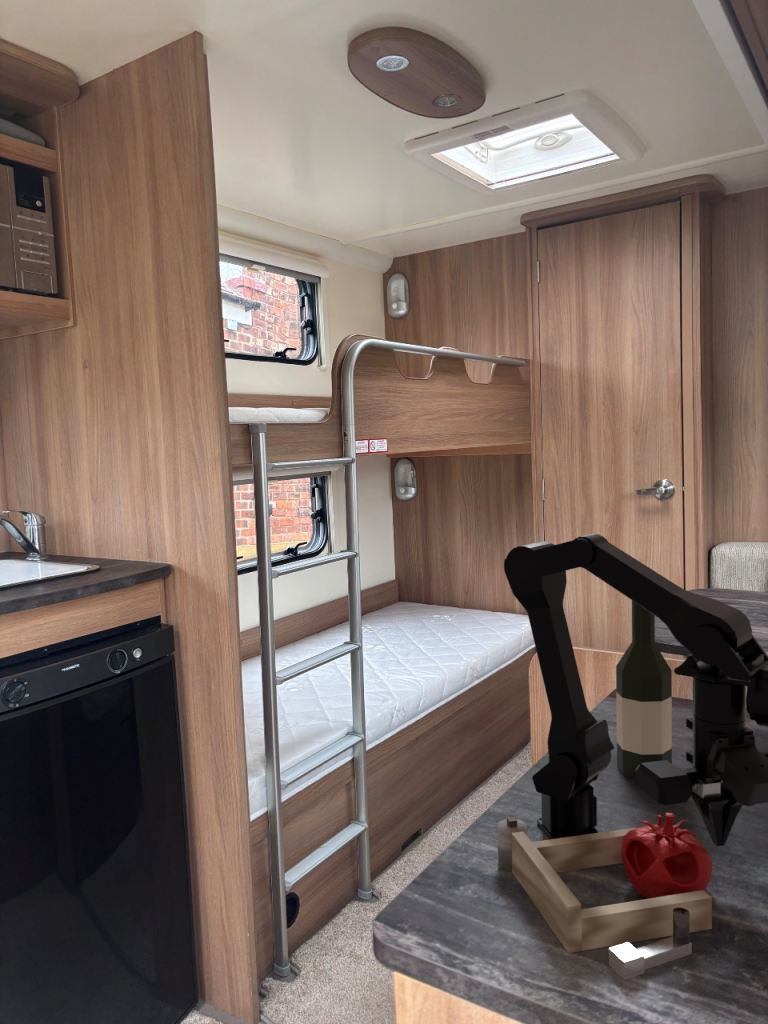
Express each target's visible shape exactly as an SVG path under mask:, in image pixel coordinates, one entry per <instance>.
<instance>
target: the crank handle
mask: <svg viewBox="0 0 768 1024" xmlns="http://www.w3.org/2000/svg"><path fill="white" fill-rule="evenodd" d="M690 934H691V933H690V913H689V911H688V910H686V909H684V908H680V907H677V908H674V909H673V936H668V937H667V938H666V937H665V938H664V939H661V940H657V941H654V942H652V943H649V944H648V943H647V944H645V945H642V946H639V947H635V946H633V944H632V943H629V942H627V943H624V944H620V945H614V946H610V947H609V948H608V966H609V967H610V968H612V969H613V970H614V971H615V973H617V974H618V975H619V976H620V977H621V978H622V979H623V980H625V981H626V980H628V979H632V978H634V977H637V976H640V975H643V974H645V970H647V969H651V968H653V967H656V966H657V967H658V966H659V965H662V964H666V963H668V962H671V961H675V960H678V959H680V958H684V957H687V956H690V955H692V948H693V946H692V941H690V939H691V938H690V936H691V935H690Z"/></svg>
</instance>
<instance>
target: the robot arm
mask: <svg viewBox="0 0 768 1024" xmlns="http://www.w3.org/2000/svg"><path fill="white" fill-rule="evenodd" d="M578 568H582V569H585V570H586V571H587V572H589V573H590V574H592V575H594V576H595V577H597V578H598V579H600V581H602V582H603V583H605V584H607V585H608V586H610V587H612V588H613V589H614V590H616V591H618V592H619V593H621V594H622V595H624V596H625V597H627V598H628V599H629V600H631V602H632V601H634V602H635V603H637V604H638V605H640V606H641V607H643V608H644V609H646V610H647V611H649V612H650V613H652V614H653V615H655V617H656V618H658V619H659V620H660V621H661V622H662V623H663V624H665V626H666V627H667V629H668V631H670V633H671V635H672V636H673V638H674V640H676V641H677V642H678V643H679V644H680V645H682V647H684V648H685V650H687V651H688V652H689V653H690V654H689V655H688V656H687V657H686V659H685V660H684V661H683V662H682V663H681V664H680V665H679V666H677V667H675V668H674V669H673V673H674V674H675V675H678V676H682V677H683V676H684V677H690V678H692V717H688V718H686V721H685V725H686V727H687V728H688V729H690V730H691V731H692V750H689V751H686V753H685V754H686V755H685V760H686V761H688V762H689V763H690V764H692V767H691V768H682V769H680V768H679V767H677V766H676V765H674V764H673V763H672V764H671V763H670V762H669V761H667V760H662V761H654V762H646V763H641V764H640V765H639V766H638V767H637V768H636V771H635V779H634V786H636V787H637V788H639V790H641V791H642V792H643V793H645V794H646V795H647V796H649V797H650V799H652V800H653V801H655V802H656V803H657V804H659V805H663V806H667V805H670V806H671V805H676V804H682V803H683V804H684V803H685V804H686V803H688V801H689V800H690V798H691V799H692V800H693V802H694V804H695V806H696V808H697V810H698V812H699V814H700V817H701V819H702V821H703V823H704V826H705V828H706V830H707V832H708V835H709V837H710V839H711V842H712V843H713V844H714V845H715V846H716V847H723V846H726V845H725V844H726V842H727V840H728V839H729V836H730V834H731V830H732V828H733V826H734V824H735V821H736V819H737V816H738V815H739V813H740V811H741V810H742V809H741V808H742V807H743V806H744V807H745V806H746V807H753V806H755V805H758V804H759V805H760V804H764V803H765V804H766V803H768V747H764V748H757V746H756V740H755V739H756V737H755V735H754V730H752V729H750V728H749V727H747V726H746V725H747V723H746V722H747V720H746V719H747V718H746V716H747V714H748V715H749V719H750V721H755V723H756V724H757V725H758V726H761V727H766V728H768V654H767V652H766V651H765V650H764V649H763V648H762V646H761V644H760V643H759V642H758V641H757V639H756V637H754V635H753V629H752V627H751V626H752V625H751V623H750V619H749V618H748V616H747V615H746V614H745V613H744V612H742V611H741V610H740V609H738V608H737V607H734V606H731V605H728V604H726V603H725V602H722V601H719V600H717V599H715V598H712V597H708V596H705V595H701V594H698V593H694V592H691V591H689V590H687V589H684V588H682V587H681V586H678V585H677V584H675V582H672V581H671V580H669V579H668V578H666V577H664V576H663V575H661V574H660V573H658V572H656V571H655V570H653V569H652V568H650V567H649V566H647V565H646V564H644V563H642V562H641V561H639V560H638V559H636V558H634V557H633V556H631V555H630V554H628V553H626V552H625V551H623V550H622V549H621V548H618V547H617V546H615V545H614V544H613V543H611V542H610V541H608V539H607V538H605V536H603V535H601V534H598V533H591V534H590V533H589V534H585V535H581V536H578V537H575V538H574V539H573V540H568V541H566V542H561V543H558V544H554V543H553V542H550V541H547V540H546V541H537V542H533V543H528V544H522V545H518V546H516V547H513V548H512V549H511V550H510V551H509V552H508V553H507V555H506V558H504V560H503V571H504V575H505V577H506V579H507V582H508V584H509V588H510V591H511V593H512V595H513V596H514V597H515V599H516V600H517V601H518V603H519V604H520V605H521V606H522V607H523V609H524V610H525V611H526V613H527V617H528V620H529V625H530V629H531V633H532V638H533V642H534V646H535V650H536V655H537V659H538V663H539V669H540V671H541V677H542V681H543V685H544V690H545V694H546V698H547V703H548V706H549V711H550V715H551V717H550V725H549V730H548V735H547V740H546V742H547V743H546V744H547V753H548V754H547V755H548V763H547V764H545V765H544V766H543V767H542V768H540V769H539V770H538V771H537V772H535V773H534V774H533V775H532V777H531V779H532V782H533V784H534V788H535V791H536V792H537V793H539V794H541V796H540V797H541V798H540V800H541V801H540V802H541V817H537V818H536V822H537V824H538V825H539V826H540V827H541V828H542V830H543V831H544V832H545V833H546V834H547V836H548V837H549V838H550V839H557V838H564V837H572V836H579V835H586V834H593V833H600V832H599V830H597V829H596V827H598V798H597V797H596V796H595V794H594V788H595V787H593V785H592V783H593V782H596V781H597V780H598V778H599V776H600V773H601V772H603V771H605V770H607V768H608V766H610V765H609V764H610V763H611V762H612V751H614V750H615V746H614V745H613V742H612V741H611V738H610V734H609V725H608V722H607V720H606V719H604V718H603V719H600V720H597V719H596V718H595V716H593V714H592V713H591V712H590V711H589V709H588V705H587V702H586V698H585V694H584V689H583V685H582V681H581V677H580V673H579V669H578V664H577V663H578V662H577V660H576V656H575V652H574V648H573V647H574V646H573V643H572V639H571V636H570V635H571V634H570V630H569V626H568V623H567V622H568V621H567V618H566V613H565V609H564V598H565V593H566V589H567V584H568V583H567V580H568V579H567V571H570V570H574V569H578ZM741 658H743V659H741ZM746 712H747V713H746Z"/></svg>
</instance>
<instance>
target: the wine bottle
mask: <svg viewBox="0 0 768 1024" xmlns="http://www.w3.org/2000/svg"><path fill="white" fill-rule="evenodd" d="M655 617H656V616H655V615H653V614H652V613H650V612H649V611H647V610H646V609H644V608H643V607H641V606H640V605H638V604H637V603H635V602H634V601H632V600H631V638H632V639H631V642H630V644H629V646H628V647H627V648H626V650H625V652H624V653H623V655H622V656H621V658H620V659H619V660H618V662H617V664H616V666H615V667H616V668H615V669H616V670H615V671H616V672H615V673H616V674H615V675H616V677H615V684H616V690H615V691H616V693H615V694H616V695H615V696H616V698H615V699H616V767H617V769H618V770H619V772H620V773H621V775H623V776H624V777H625V776H626V777H629V778H631V779H634V780H635V771H636V768H637V767H638V766H639V765H640V764H641V763H646V762H654V761H662V760H667V761H669V762H670V763H671V764H673V754H672V753H673V748H672V747H673V738H672V737H673V736H672V735H673V733H672V732H673V728H672V727H673V726H672V725H673V722H672V721H673V717H672V716H673V715H672V712H673V711H672V708H673V706H672V704H673V703H672V702H673V701H672V699H673V697H672V695H673V694H672V693H673V692H672V687H673V686H672V682H673V681H672V677H673V676H672V674H673V671H672V668H671V667H670V665H669V663H668V662H667V660H666V659H665V657H664V655H663V654H662V652H661V651H660V649H659V647H658V646H657V644H656V641H655V640H656V639H655V638H656V637H655V636H656V635H655V634H656V633H655V631H656V629H655V628H656V627H655V626H656V624H655V623H656V622H655V621H656V620H655Z"/></svg>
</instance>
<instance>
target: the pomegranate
mask: <svg viewBox="0 0 768 1024" xmlns="http://www.w3.org/2000/svg"><path fill="white" fill-rule="evenodd" d="M653 816H654V817H655V818H657V823H655V824H653V823H652V822H649V821H647V820H643V821H638V822H635V824H636V825H638V824H645V825H643V826H641V827H637V828H636V829H633V830H630V831H629V832H628V833H627V834H626V835H625V836H624V837H623V841H622V847H621V854H622V862H623V863H622V866H623V868H624V872H625V874H626V876H627V878H628V881H629V882H630V885H631V886H632V888H633V889H634V890H635V891H636V892H637V893H639V895H641V896H642V897H644V898H645V899H650V898H656V897H663V896H669V895H675V894H681V893H688V892H694V891H700V890H704V891H705V892H706V891H707V889H708V886H709V884H710V883H711V879H712V874H713V869H714V868H713V867H714V864H713V858H712V856H711V855H710V853H709V851H708V850H707V848H706V847H705V846H704V845H703V844H702V842H700V841H699V840H698V839H697V838H696V837H697V836H698V835H699V834H698V833H694V832H692V830H689V829H682V828H679V827H680V826H681V824H683V823H686V822H688V821H689V818H687V819H683V820H682V819H681V821H679V822H677V823H676V824H673V823H674V821H675V819H676V814H674V813H672V812H665V816H664V817H665V822H664V820H663V817H662V816H661V814H653Z"/></svg>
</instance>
